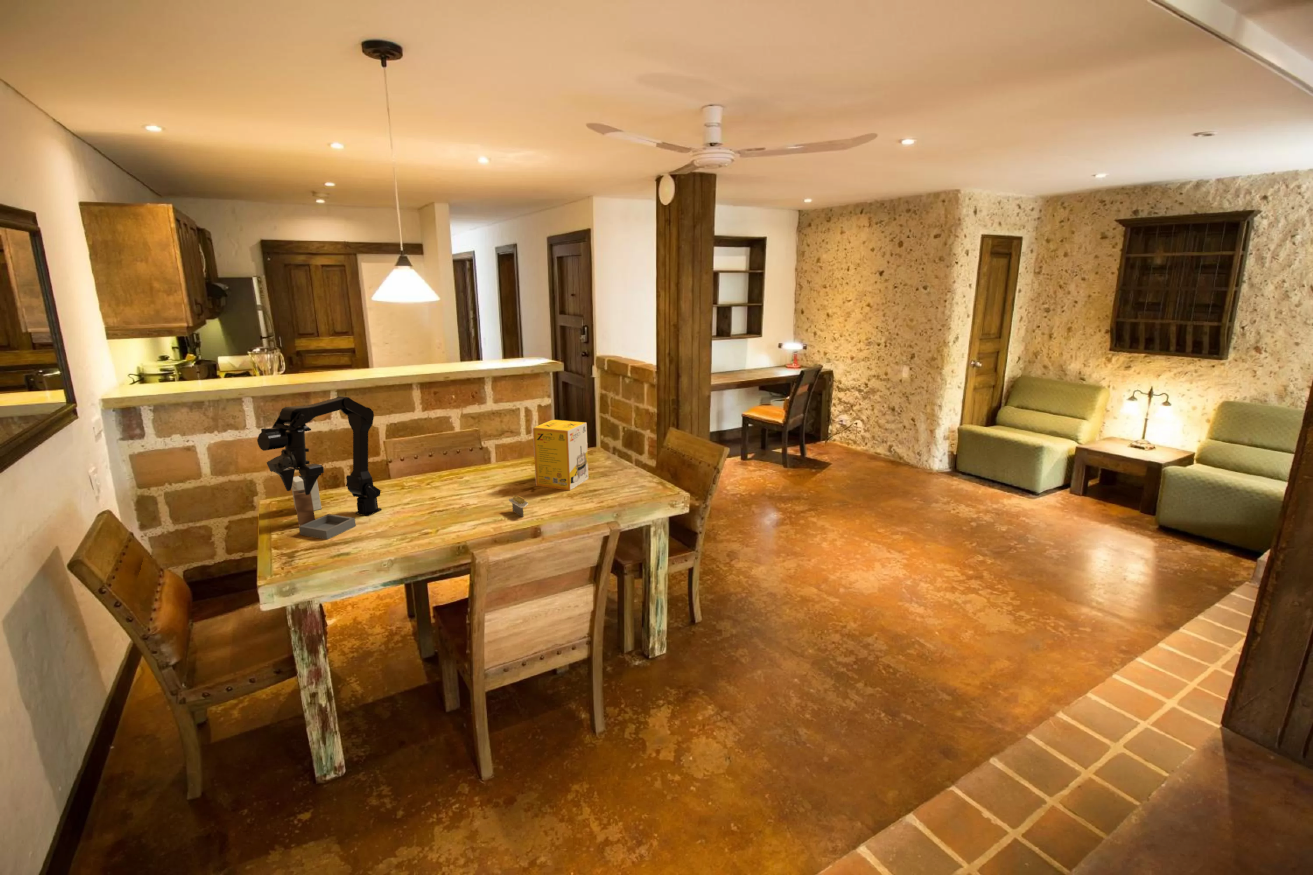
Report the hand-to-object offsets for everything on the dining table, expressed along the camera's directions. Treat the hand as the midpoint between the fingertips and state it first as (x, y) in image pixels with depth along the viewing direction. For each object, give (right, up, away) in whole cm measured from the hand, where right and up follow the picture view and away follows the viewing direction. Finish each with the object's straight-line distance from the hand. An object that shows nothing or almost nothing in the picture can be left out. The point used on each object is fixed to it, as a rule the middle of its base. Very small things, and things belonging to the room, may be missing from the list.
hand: (298, 492), depth 197 cm
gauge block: (-6, -12, +15) cm, 21 cm away
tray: (+5, -14, +10) cm, 18 cm away
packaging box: (+77, -1, +59) cm, 97 cm away
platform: (+67, -10, +24) cm, 72 cm away
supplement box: (-14, -9, +29) cm, 34 cm away
